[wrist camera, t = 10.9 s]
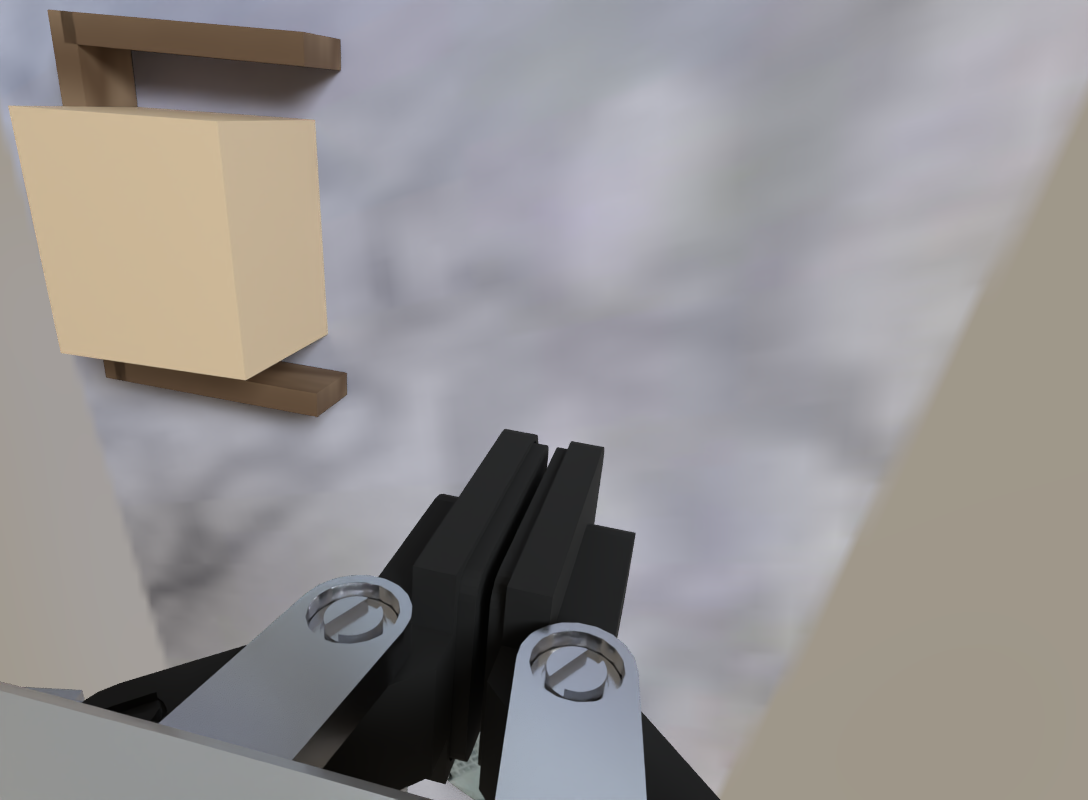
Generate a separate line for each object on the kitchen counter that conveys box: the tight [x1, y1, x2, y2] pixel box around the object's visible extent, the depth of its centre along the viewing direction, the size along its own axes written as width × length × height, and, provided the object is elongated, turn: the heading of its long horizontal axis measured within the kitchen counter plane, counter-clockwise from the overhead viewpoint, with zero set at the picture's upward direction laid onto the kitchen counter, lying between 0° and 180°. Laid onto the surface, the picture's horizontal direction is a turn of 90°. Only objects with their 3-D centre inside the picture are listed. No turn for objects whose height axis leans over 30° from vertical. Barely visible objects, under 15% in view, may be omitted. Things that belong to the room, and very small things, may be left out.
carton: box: [8, 106, 328, 380], centre depth 32 cm, size 10×9×7 cm
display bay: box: [48, 10, 347, 417], centre depth 33 cm, size 16×12×3 cm
